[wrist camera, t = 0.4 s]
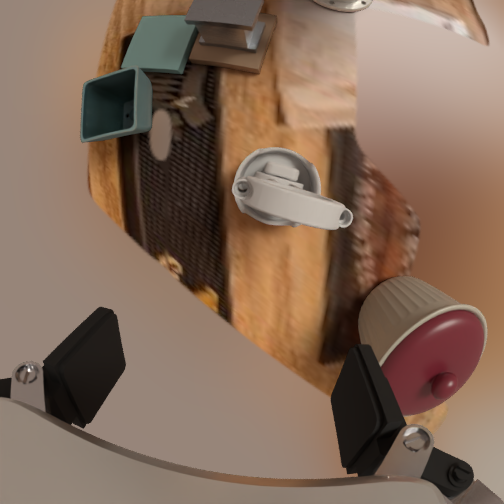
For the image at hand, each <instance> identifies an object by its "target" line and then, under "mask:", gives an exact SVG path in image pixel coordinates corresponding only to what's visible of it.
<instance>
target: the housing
mask: <svg viewBox="0 0 504 504" xmlns="http://www.w3.org/2000/svg"><path fill="white" fill-rule="evenodd" d="M263 3H264V0H194V1H193V3H192V5H191V7H190V9H189V11H188V13H187V15H186V17H185V19H184V21H185V22H186V24H188V25H195V26H196V28H197V29H198V31H199V33H200V34H201V37H200V39H199V43H200V45H204V46H213V47H222V48H229V49H235V50H241V51H247V52H253V53H256V52H257V49H258V46H259V43H260V41H261V38H262V35H263V32H264V29H265V27H266V26H265V22H259V21H258V16H259V13H260V10H261V8H262V5H263Z"/></svg>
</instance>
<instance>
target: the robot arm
mask: <svg viewBox="0 0 504 504" xmlns="http://www.w3.org/2000/svg"><path fill="white" fill-rule="evenodd" d="M313 1H314V2H316V3H318V4H320V5H322V6H324V7H327V8H330V9H333V10H338V11H344V12H355V11H361V10H363V9H366V8H367V7H369V5H370V4H371V3H372V1H373V0H313ZM43 363H44V366H43V367H41V366H40V365H39V364H38V363H36V362H23V363H21V364H19V365H18V366H17V367H16V368H15V369H14V371H13V373H12V378H7V379H0V504H504V503H503V501H502V500H501V499H500V498H499V497H498V496H497V495H496V494H495V493H493V492H492V491H491V490H490V489H489V488H488V487H486V486H485V485H484V484H483V483H482V482H481V481H479V480H478V479H477V480H476V481H474V480H473V478H474V474H473V470H472V467H470V465H469V464H468V463H466V462H465V461H462V460H460V459H458V458H455V457H453V456H451V455H449V454H447V453H445V452H443V451H441V450H439V449H437V448H435V447H433V445H434V439H433V435H432V434H431V432H430V431H429V430H428V429H427V428H425V427H424V426H421V425H418V424H411V425H407V424H406V422H405V419H404V417H403V414H402V412H401V410H400V407H399V405H398V402H397V400H396V398H395V395H394V393H393V391H392V388H391V386H390V384H389V381H388V379H387V378H386V377H385V376H384V374H383V371H382V369H381V367H380V365H379V362H378V360H377V358H376V356H375V354H374V352H373V349H372V347H371V346H370V345H369V344H356V345H355V346H354V348H350V349H349V352H348V354H347V357H346V360H345V362H344V365H343V368H342V370H341V373H340V375H339V378H338V380H337V383H336V385H335V387H334V390H333V392H332V395H331V405H332V410H333V415H334V421H335V427H336V432H337V438H338V444H339V450H340V457H341V463H342V467H343V468H346V470H347V474H353V473H358V477H347V478H332V479H273V478H258V477H247V476H239V475H231V474H224V473H218V472H212V471H206V470H201V469H196V468H191V467H187V466H182V465H178V464H174V463H170V462H166V461H163V460H159V459H156V458H152V457H149V456H146V455H143V454H140V453H137V452H134V451H131V450H128V449H125V448H123V447H120V446H117V445H115V444H112V443H109V442H107V441H105V440H102V439H100V438H97V437H95V436H93V435H91V434H88V433H86V432H84V431H82V430H80V429H77V428H75V427H73V426H71V424H72V423H73V424H75V425H77V426H79V427H81V428H84V427H85V426H86V424H87V423H88V424H89V423H91V421H92V420H93V418H94V417H95V415H96V413H97V411H98V410H99V409H100V407H101V405H102V404H103V402H104V401H105V399H106V398H107V396H108V394H109V393H110V391H111V390H112V388H113V387H114V385H115V384H116V382H117V381H118V379H119V378H120V376H121V375H122V373H123V372H124V370H125V366H126V363H125V358H124V353H123V348H122V344H121V337H120V332H119V327H118V320H117V316H116V314H114V312H113V310H111V309H107V308H104V307H99V308H97V309H96V310H95V311H94V312H93V313H92V314H91V315H90V316H89V317H88V318H87V319H86V320H85V321H83V322H82V323H81V324H80V325H79V326H78V327H77V328H76V329H75V330H74V331H73V332H72V333H71V334H70V335H69V336H68V337H67V338H66V339H65V340H64V341H63V342H62V343H61V344H60V345H59V346H58V347H57V348H56V349H55V350H54V351H53V352H52V353H51V354H50V355H49V356H48V357H47V358H46V359H45V360H44V361H43Z"/></svg>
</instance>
